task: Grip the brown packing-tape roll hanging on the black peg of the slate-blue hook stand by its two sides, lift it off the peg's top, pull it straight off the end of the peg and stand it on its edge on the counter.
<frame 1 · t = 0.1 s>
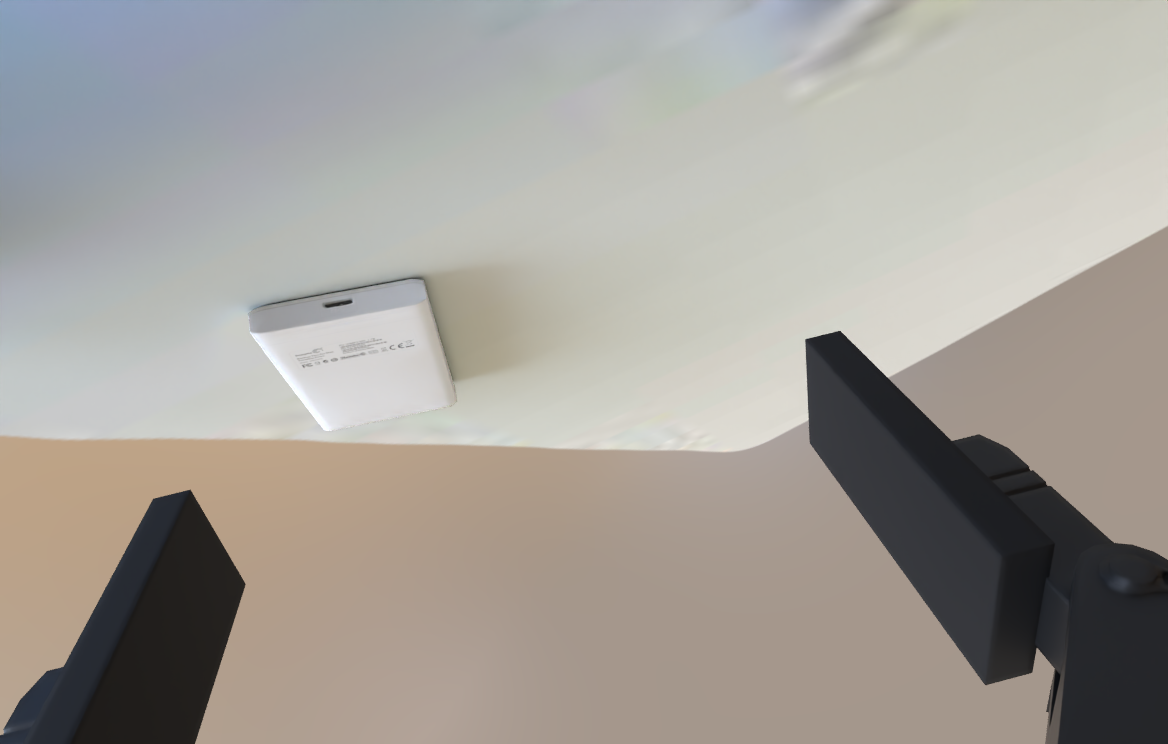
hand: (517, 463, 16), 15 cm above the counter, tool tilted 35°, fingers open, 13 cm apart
hard drive: (365, 347, 41), on the counter
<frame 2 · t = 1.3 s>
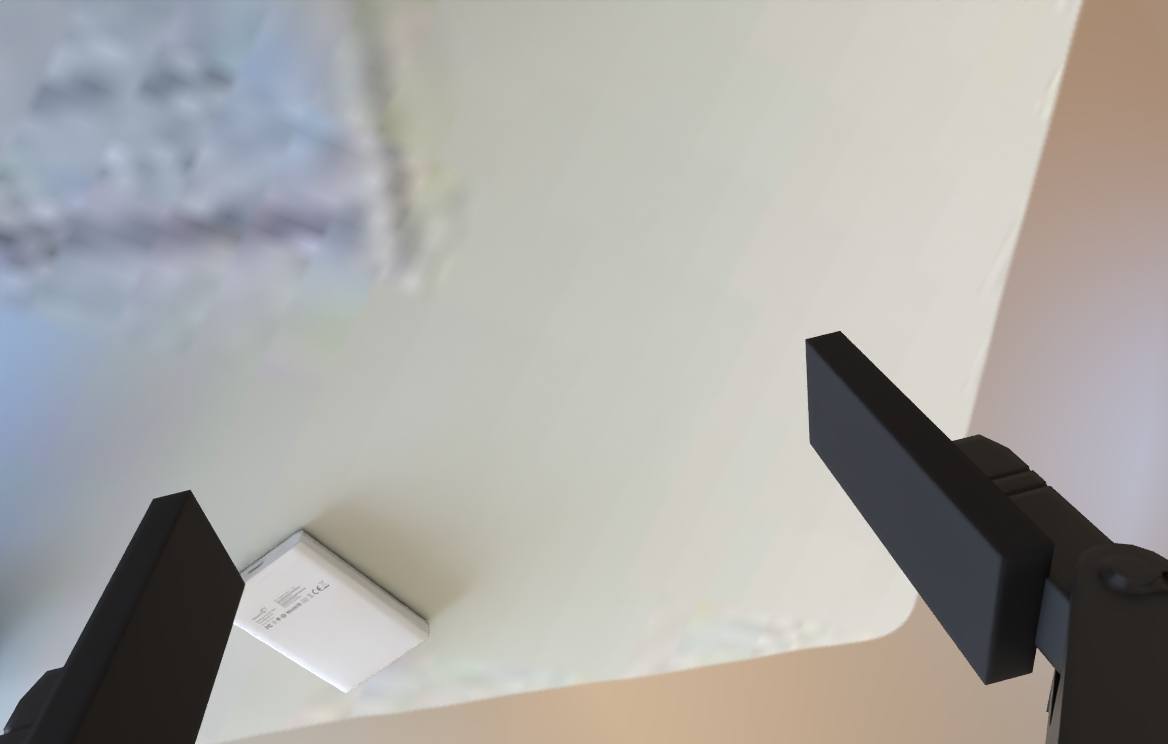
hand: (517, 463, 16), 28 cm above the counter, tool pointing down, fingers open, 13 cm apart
hard drive: (326, 605, 54), on the counter
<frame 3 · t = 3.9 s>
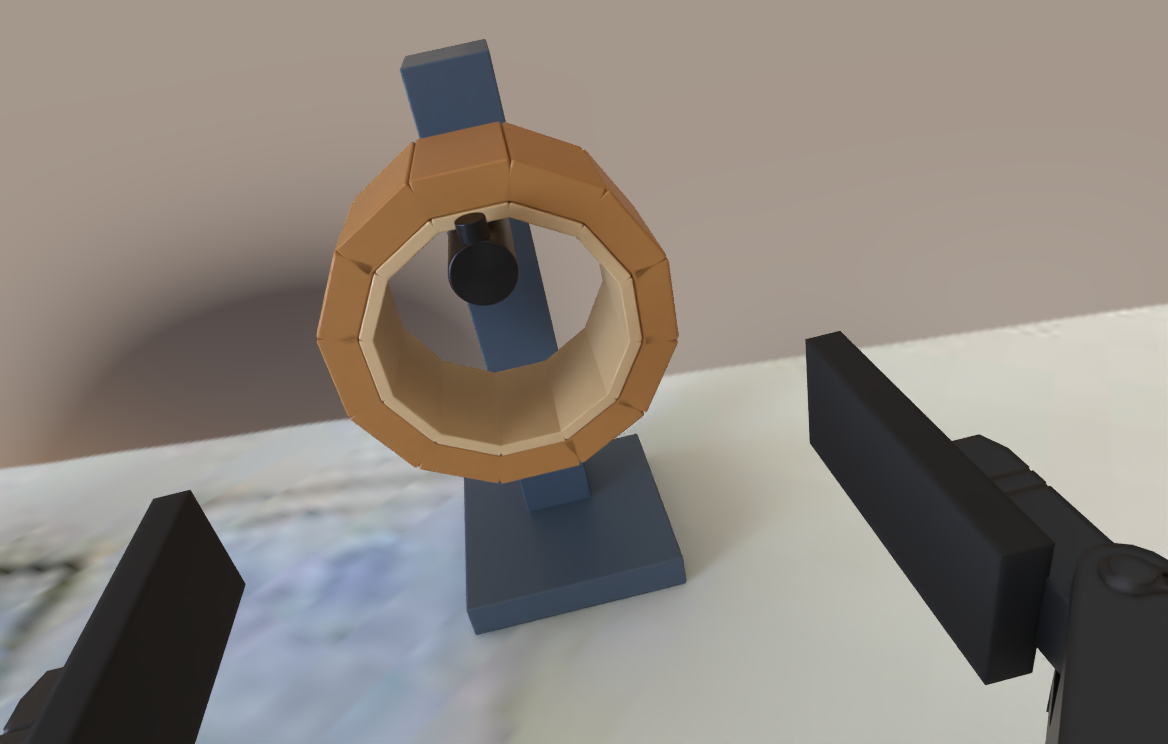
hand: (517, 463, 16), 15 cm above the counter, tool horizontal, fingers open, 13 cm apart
hook stand: (562, 507, 37), on the counter
tape roll: (500, 307, 24), point 14 cm above the counter, touching hook stand
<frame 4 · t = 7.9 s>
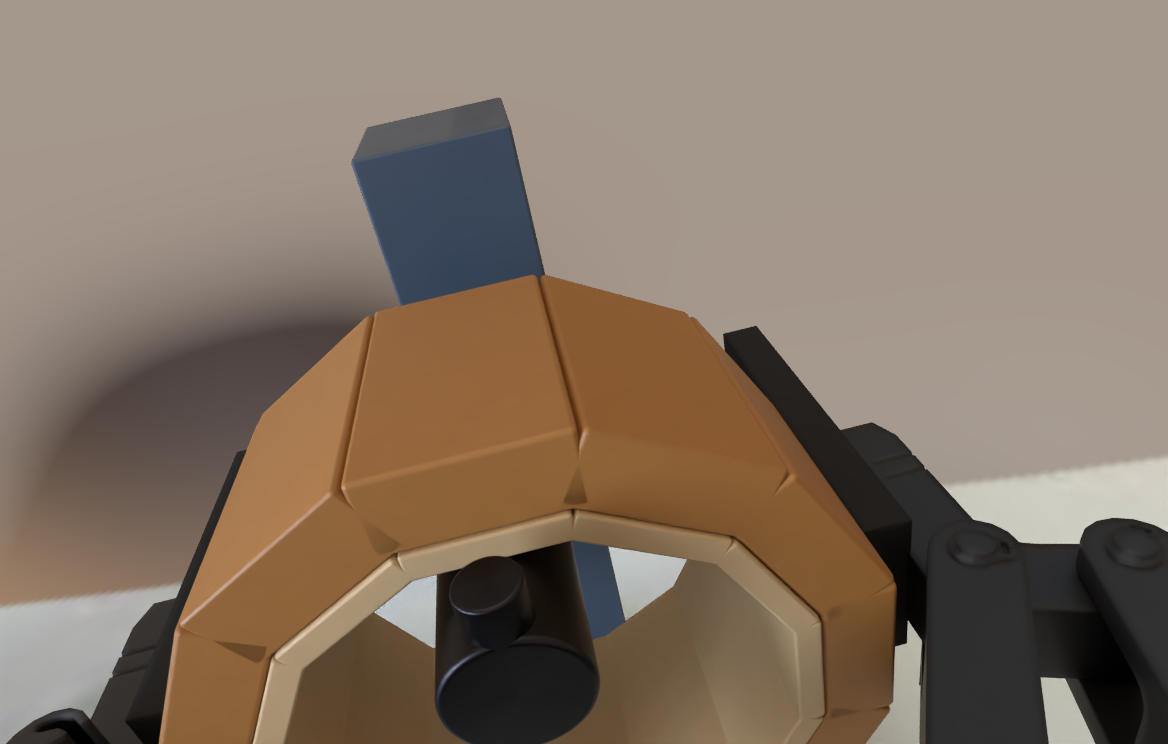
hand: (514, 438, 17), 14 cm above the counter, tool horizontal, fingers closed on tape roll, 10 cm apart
tape roll: (538, 616, 13), point 14 cm above the counter, touching gripper, hook stand
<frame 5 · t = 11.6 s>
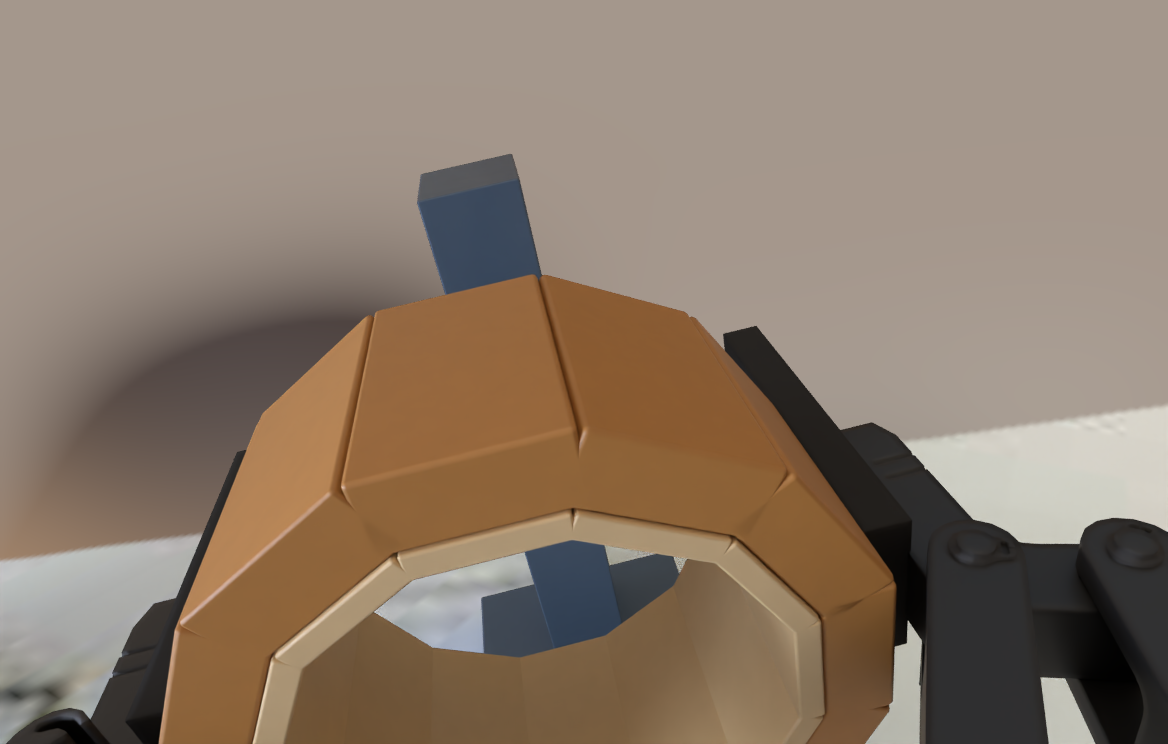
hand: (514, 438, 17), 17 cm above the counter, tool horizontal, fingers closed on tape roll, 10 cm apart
hook stand: (590, 637, 34), on the counter
tape roll: (538, 616, 13), point 17 cm above the counter, touching gripper
when the fingers open (5 cm above the counter, at t = 15.6 s): tape roll stays where it is, point 5 cm above the counter.
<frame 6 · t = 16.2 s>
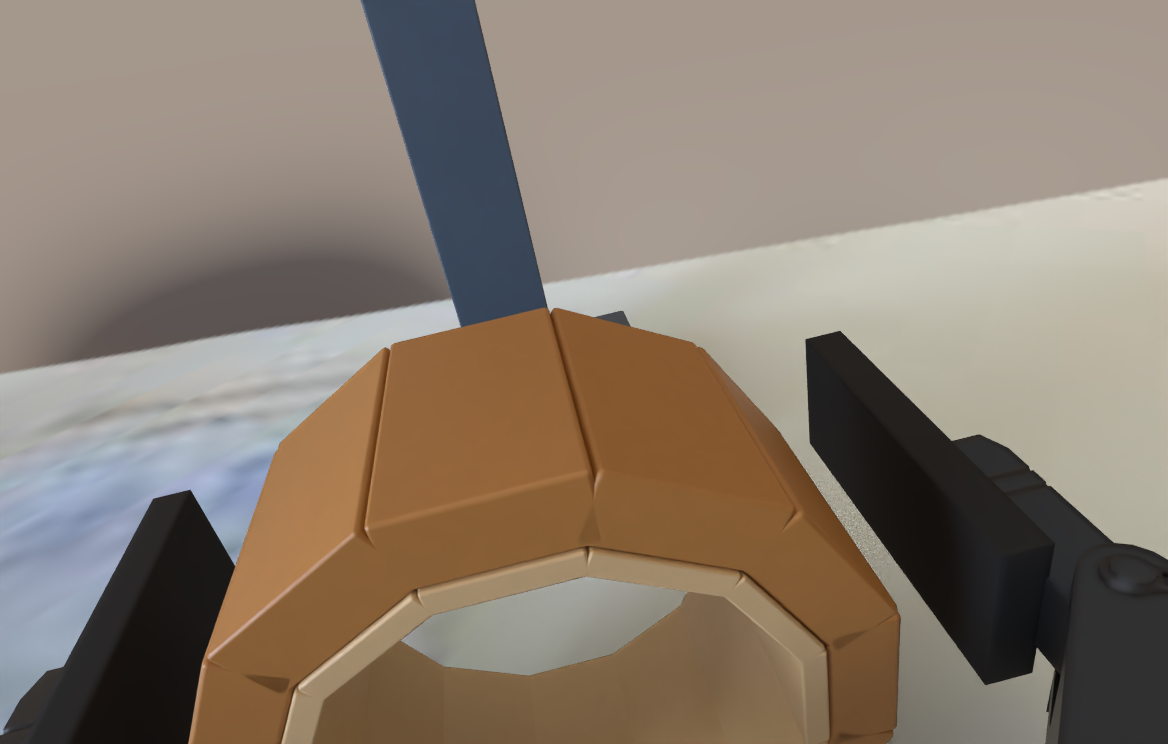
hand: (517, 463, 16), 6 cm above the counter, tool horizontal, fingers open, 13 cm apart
hook stand: (528, 398, 29), on the counter
tape roll: (549, 640, 13), point 5 cm above the counter
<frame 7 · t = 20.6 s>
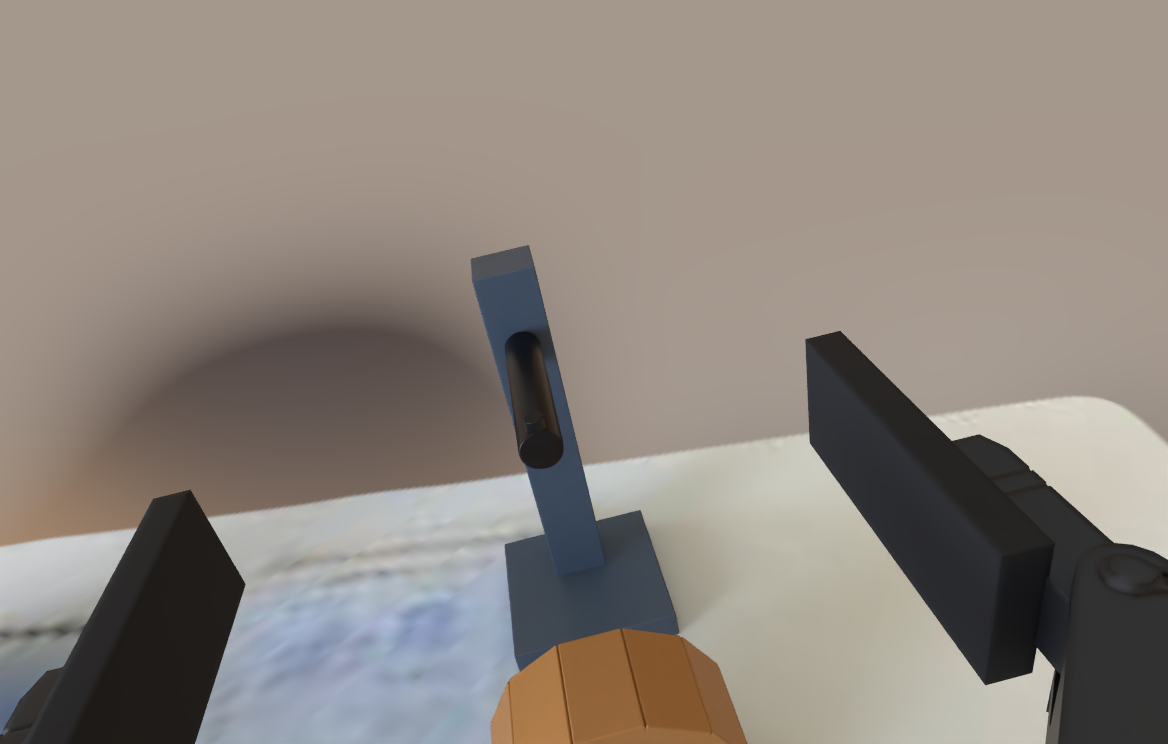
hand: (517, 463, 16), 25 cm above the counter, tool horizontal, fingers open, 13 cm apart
hook stand: (582, 570, 47), on the counter
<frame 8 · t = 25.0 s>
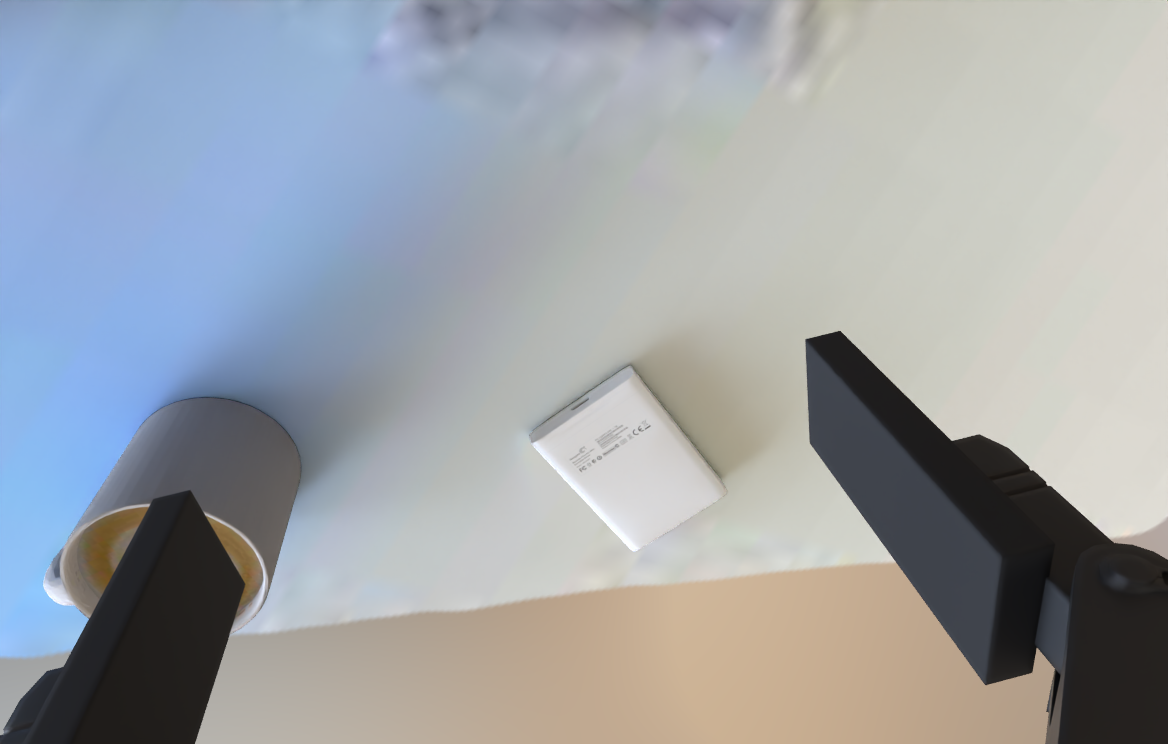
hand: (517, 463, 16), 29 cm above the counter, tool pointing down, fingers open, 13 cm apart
hard drive: (629, 455, 53), on the counter
coffee mug: (191, 468, 48), on the counter
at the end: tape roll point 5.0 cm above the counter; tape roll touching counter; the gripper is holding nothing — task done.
